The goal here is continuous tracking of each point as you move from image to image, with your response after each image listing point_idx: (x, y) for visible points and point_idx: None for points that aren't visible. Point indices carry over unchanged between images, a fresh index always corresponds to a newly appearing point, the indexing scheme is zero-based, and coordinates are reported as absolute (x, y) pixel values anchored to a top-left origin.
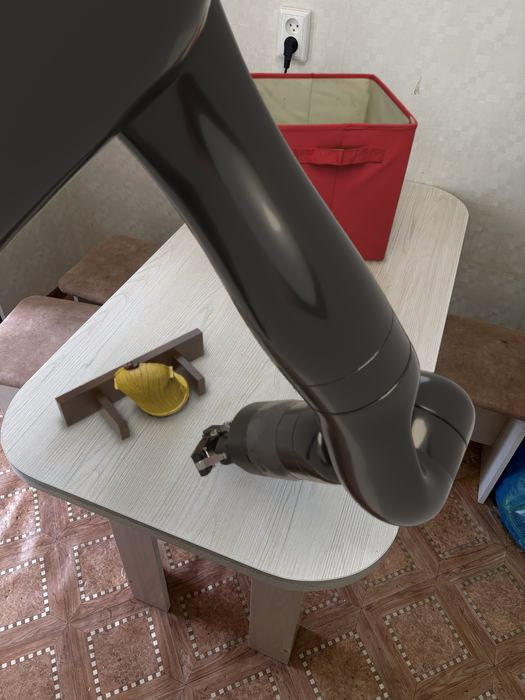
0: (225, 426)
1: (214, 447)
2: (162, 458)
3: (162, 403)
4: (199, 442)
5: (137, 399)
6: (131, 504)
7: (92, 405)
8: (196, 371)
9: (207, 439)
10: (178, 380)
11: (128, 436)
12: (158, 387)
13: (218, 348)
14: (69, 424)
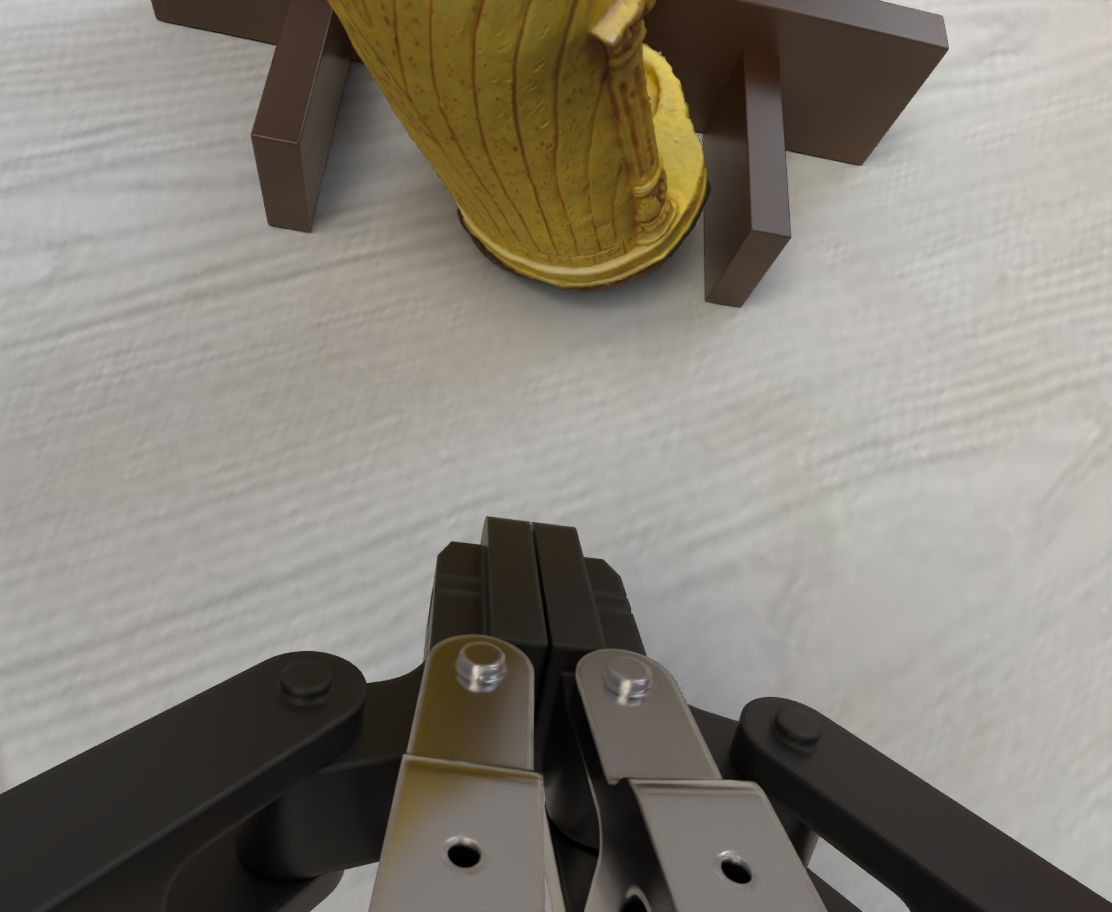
0: (521, 875)
1: (329, 833)
2: (329, 426)
3: (490, 185)
4: (217, 692)
5: (353, 42)
6: (7, 515)
7: (288, 2)
8: (780, 185)
9: (271, 763)
10: (672, 159)
11: (303, 227)
12: (466, 27)
13: (933, 187)
14: (164, 13)
